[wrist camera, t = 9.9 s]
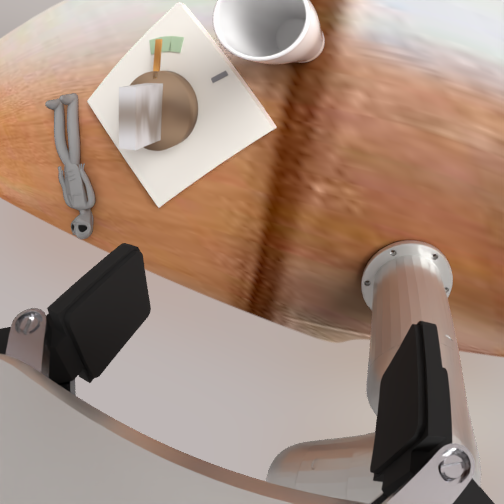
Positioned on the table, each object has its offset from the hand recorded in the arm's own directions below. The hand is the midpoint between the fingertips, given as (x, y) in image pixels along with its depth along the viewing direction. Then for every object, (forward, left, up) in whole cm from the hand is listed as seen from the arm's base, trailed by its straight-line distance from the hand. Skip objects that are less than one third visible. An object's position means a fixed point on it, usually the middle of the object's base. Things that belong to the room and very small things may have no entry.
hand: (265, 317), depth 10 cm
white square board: (+15, +15, -28) cm, 35 cm away
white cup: (+12, -3, -28) cm, 31 cm away
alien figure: (+20, +36, -29) cm, 50 cm away
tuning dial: (+16, +14, -27) cm, 34 cm away
